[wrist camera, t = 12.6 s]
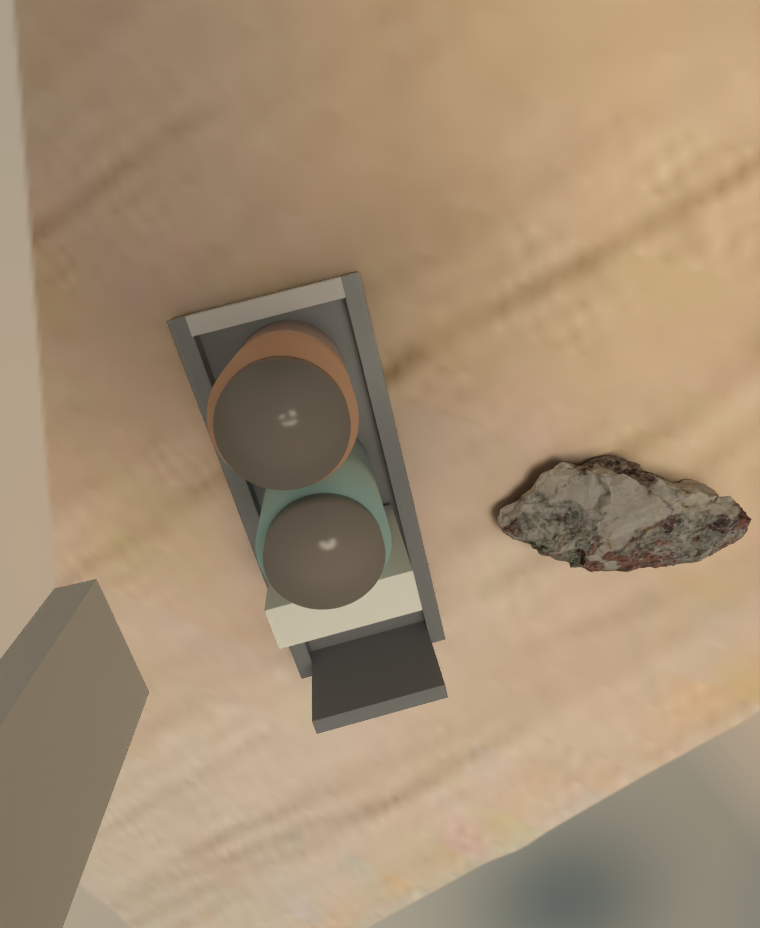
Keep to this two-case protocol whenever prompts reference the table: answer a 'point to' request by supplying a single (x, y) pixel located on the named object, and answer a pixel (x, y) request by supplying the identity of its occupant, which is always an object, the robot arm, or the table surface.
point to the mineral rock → (621, 517)
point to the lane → (408, 636)
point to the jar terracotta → (284, 407)
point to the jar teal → (325, 537)
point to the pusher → (379, 604)
